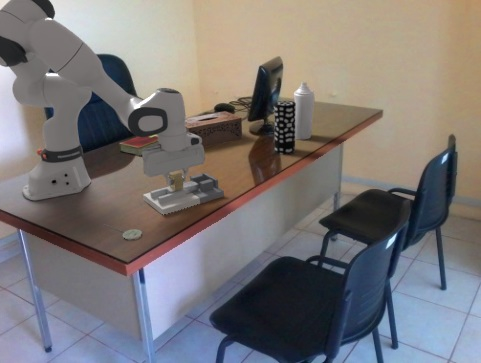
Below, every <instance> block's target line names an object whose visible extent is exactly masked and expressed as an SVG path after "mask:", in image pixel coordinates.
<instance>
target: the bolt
mask: <svg viewBox="0 0 481 363" xmlns="http://www.w3.org/2000/svg"><path fill="white" fill-rule="evenodd" d="M168 177H169V178H171V179H173V185H169V186H170V187H169V186H168V187H169V188H166V194H171V193H174V192H177V191H181V190H185V193H189V192H193V191H196V190H199V185H198V184H197V183H196V182H194V181H190V180H189V181H190V182H189V181H186V182H187V183H185V182H183V176H182V172H180V171H179V170H177V171H174V172H170V173H169V176H168Z"/></svg>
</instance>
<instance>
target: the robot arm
mask: <svg viewBox="0 0 481 363" xmlns="http://www.w3.org/2000/svg"><path fill="white" fill-rule="evenodd" d="M55 15H56V11H55V8H54V6H53V3H52V1H50V0H9V1H8V2H7V3H5V4H4V5H3V6H2V7H1V8H0V66H1V67H5V68H9V69H10V70H11V71H12V73H13V74H14V75H15V76H16V77H15V79H14V81H13V83H12V94H13V97H14V99H15V100H16V101H17V102H18V103H19V104H20V105H23V106H28V107H32V108H33V107H34V108H52V109H53V115H52V117H50V118H49V119H47V120H46V121H45V122H44V123H43V125H42V127H41V128H42V129H41V131H42V137H43V140H44V141H43V142H44V145H45V146H44V147H45V148H44V149H41V148H38V149H37V150H36V154H37V155H38V156H40V159H41V160H40V162H39V163H37V165H35V166H34V167H33V168H32V170H30V171H29V173H28V176H27V184H26V185H24V186H23V187H22V194H23V196H24V197H25V199H27V200H31V201H41V200H46V199H50V198H57V197H62V196H67V195H72V194H77V193H80V192H81V191H83V190H84V189H85V188H87V186H89V185H90V184H91V182H92V180H91V178H90V176H89V173H88V171H87V168H86V166H85V162H84V152H83V151H84V150H83V147H82V143H80V138H79V130H78V128H79V127H78V120H79V116H80V112H81V110H83V108H84V107H85V106H86V105H87V104H88V103H89V102H90V100H91V98H92V92H93V93H94V94H95V95H96V96H98V97H100V99H102V100H103V102H105V103H106V104H108V106H110V107H111V108H112V109H113V111H114V112H115V114H116V116H117V118H118V121H120V124H122V125H123V126H125V127H126V128H127V130H128V131H130V133H132V134H133V135H134V136H136V137H149V136H153V135H156V134H158V143H159V144H158V145H154V146H151V147H150V146H149V147H146V149H144V150H143V152H142V155H141V157H142V171H143V174H144V175H145V176H146V177H149V178H154V177H157V176H161V175H162V176H163V177H164V179H165V180H166V184H167V186H170V185H173V179H171V178H169V173H170V172H174V171H181V170H182V172H181V173H182V176H183V183H185V182H187V179H186V177H187V175H188V172H189V168H192V167H196V166H197V167H198V166H201V165H203V164H204V163H205V161H206V155H205V154H206V152H205V147H203V145H202V144H201V143H202V138H201V137H199V136H197V135H195V134H192V133H187V130H186V127H185V118H187V117H186V108H185V106H186V105H185V101H184V96H183V95H182V93H181V92H180V91H178V90H176V89H174V88H169V87H168V88H167V87H159V88H157V89H155V91H153V93H152V94H151V95H150V96H148V97H147V98H144V99H143V98H142V97H140V96H137V95H134V94H131V93H128V92H127V91H125V90H124V88H122V87H121V86H120V85H119V84H118V83H117V82H115V81H114V80H113V79H112V78H111V77H110V76H109V75H108V74H107V73H106V71H105V70H104V67H103V63H102V60H101V59H100V57H98V55H97V54H96V53H95V51H94V50H93V49H92V48H91V47H90V45H88V44H87V43H85V41H84V40H83V39H82V38H80V37H79V36H78V35H77V34H76V33H74V32H73V31H72V30H70V29H69V28H67V27H66V26H64V24H62V23H60V22H59V21H57V20H55V19H54V18H55ZM50 69H51V71H53V72H49V71H50ZM145 150H147V151H145Z"/></svg>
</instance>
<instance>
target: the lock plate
mask: <svg viewBox="0 0 481 363" xmlns="http://www.w3.org/2000/svg"><path fill="white" fill-rule="evenodd" d="M190 181H194V182H196V183H197V184H198V185H199V190H196V191H193V192H189V193H185V190H181V191H177V192H174V193H171V194H166V188H169V187H170V185H168V186H166V187H162V188H159V189H155V190H151V191H149V192H148V193H143V194H142V197H143V201H144V202H146V203H147V204H148V205H149V206H151V207H152V208H154V210H156V211H157V212H158V213H159V214H161V215H162V214H163V215H162V216H165V215H164V214H166V215H169V214H168V213H170V214H172V213H171V212H173V213H175V212H174V211H176V212H178V210H179V211H182V210H185V209H188V208H191V206H192V207H194V205H195V206H197V204H198V205H200V204H203V203H208V202H210V201H213V200H216V199H219V198H223V197H225V191H224V189H223V188H220V187H219V179H218V178H216V177H214V176H212V175H210V174H208V173H207V172H202V173H197V174H195V175H191V176H189V181H184V183H187V182H190ZM187 207H188V208H187ZM184 208H185V209H184ZM181 209H182V210H181Z"/></svg>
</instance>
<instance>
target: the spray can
mask: <svg viewBox="0 0 481 363" xmlns="http://www.w3.org/2000/svg"><path fill="white" fill-rule="evenodd" d="M293 98H294V99H293V100H294V102H295V103H296V116H295V140H308V139H311V137H312V133H313V116H314V115H313V114H314V108H315V107H314V106H315V99H316V98H315V93H314V91H313V90H311V89H310V87H309V86H308V84H307V82H304V81H301V83H300V86H299V87H298V88H297V90H294V92H293Z"/></svg>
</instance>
